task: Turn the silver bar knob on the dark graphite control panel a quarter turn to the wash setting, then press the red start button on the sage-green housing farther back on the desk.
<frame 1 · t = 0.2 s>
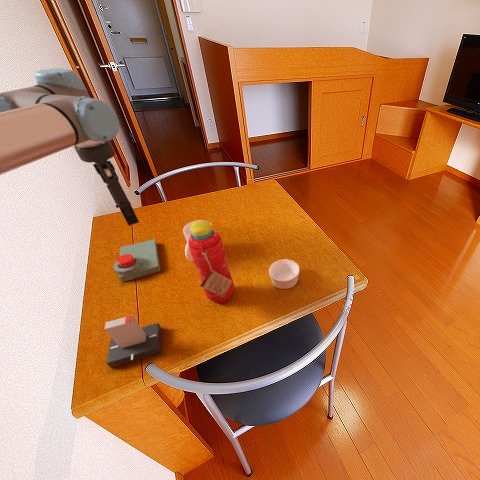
hand: (127, 212, 82), 14 cm above the table, tool pointing down, fingers open, 13 cm apart
start button: (126, 261, 80), point 5 cm above the table, slide at 0.1 cm
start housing: (141, 261, 86), on the table
mug: (202, 256, 89), on the table
water bottle: (222, 299, 77), on the table
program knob: (126, 331, 61), point 7 cm above the table, hinge at 0.0°
ramekin: (285, 279, 83), on the table
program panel: (138, 347, 65), on the table
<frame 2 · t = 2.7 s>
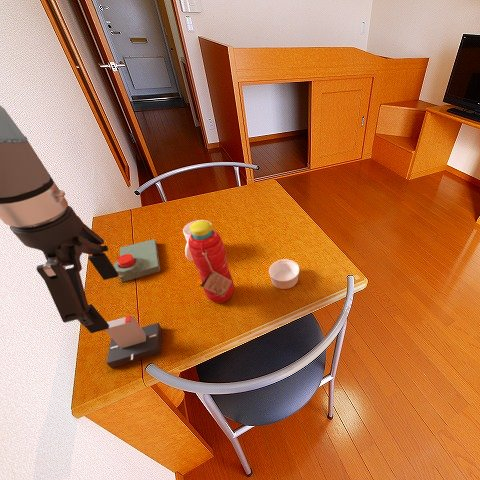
hand: (106, 301, 55), 16 cm above the table, tool pointing down, fingers open, 13 cm apart
nothing on the table moved.
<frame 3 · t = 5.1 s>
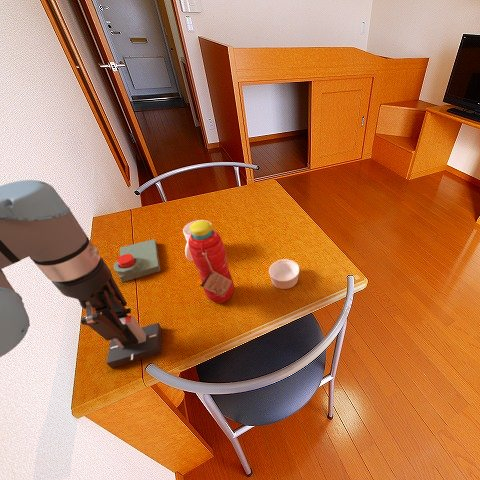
hand: (132, 339, 63), 4 cm above the table, tool pointing down, fingers closed on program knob, 2 cm apart
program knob: (126, 331, 61), point 7 cm above the table, hinge at 0.0°, touching gripper
everything else where it was.
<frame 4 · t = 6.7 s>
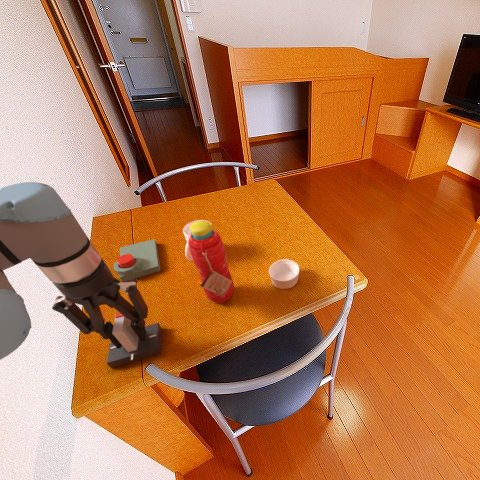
hand: (132, 339, 63), 4 cm above the table, tool pointing down, fingers open, 4 cm apart
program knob: (126, 331, 61), point 7 cm above the table, hinge at 90.0°
everything else where it was.
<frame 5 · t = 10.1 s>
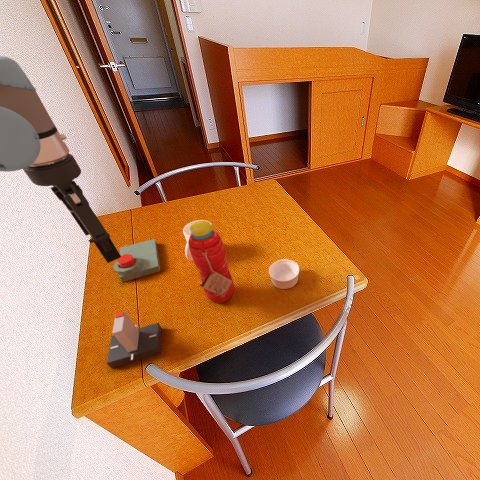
hand: (102, 245, 64), 19 cm above the table, tool pointing down, fingers open, 13 cm apart
nothing on the table moved.
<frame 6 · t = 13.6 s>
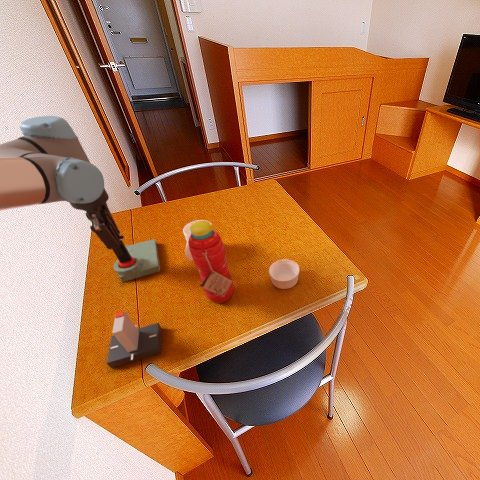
hand: (125, 259, 80), 5 cm above the table, tool pointing down, fingers closed
start button: (127, 263, 80), point 4 cm above the table, slide at -0.7 cm, touching gripper
everything else where it was.
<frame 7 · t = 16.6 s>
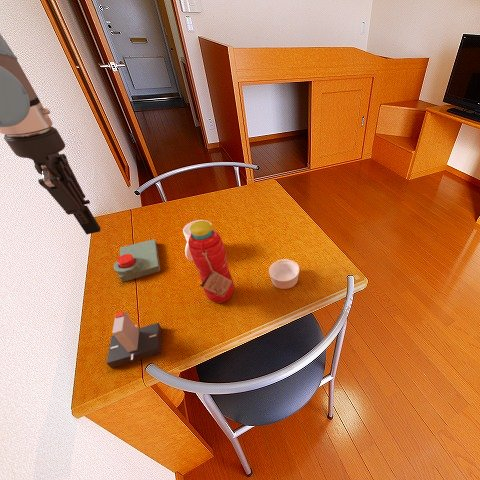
hand: (93, 231, 65), 20 cm above the table, tool pointing down, fingers closed
start button: (126, 261, 80), point 5 cm above the table, slide at 0.1 cm
everything else where it was.
at the end: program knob at +90° (first picture: +0°); start button pushed in 1.0 cm at the most during the clip, back to where it started at the end; start button slide at 0.1 cm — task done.
